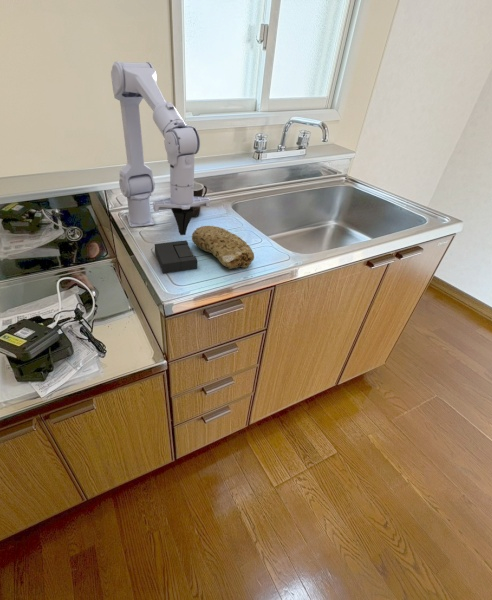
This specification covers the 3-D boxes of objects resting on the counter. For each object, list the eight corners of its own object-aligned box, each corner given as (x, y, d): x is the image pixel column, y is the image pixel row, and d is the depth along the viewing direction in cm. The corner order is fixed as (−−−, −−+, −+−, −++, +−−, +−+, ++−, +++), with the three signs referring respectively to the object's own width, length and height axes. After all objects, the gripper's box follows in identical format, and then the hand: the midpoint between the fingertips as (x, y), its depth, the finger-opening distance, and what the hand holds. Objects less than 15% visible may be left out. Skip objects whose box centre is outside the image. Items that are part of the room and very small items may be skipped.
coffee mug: (182, 220, 110) (182, 191, 104) (175, 210, 116) (175, 182, 110) (213, 216, 114) (215, 188, 107) (205, 207, 120) (206, 180, 113)
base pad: (155, 252, 92) (154, 243, 90) (186, 249, 95) (186, 240, 93) (163, 273, 84) (162, 264, 82) (197, 268, 87) (197, 259, 85)
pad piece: (174, 254, 92) (173, 245, 90) (187, 253, 93) (187, 244, 91) (179, 266, 87) (179, 257, 86) (193, 264, 88) (193, 255, 87)
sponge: (256, 269, 90) (226, 226, 101) (259, 250, 84) (226, 206, 95) (214, 285, 88) (188, 239, 98) (213, 266, 81) (185, 219, 92)
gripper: (155, 190, 72) (158, 243, 81) (215, 186, 76) (212, 237, 85) (150, 180, 77) (153, 230, 86) (206, 177, 81) (204, 225, 90)
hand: (182, 233), depth 86 cm, fingers closed
